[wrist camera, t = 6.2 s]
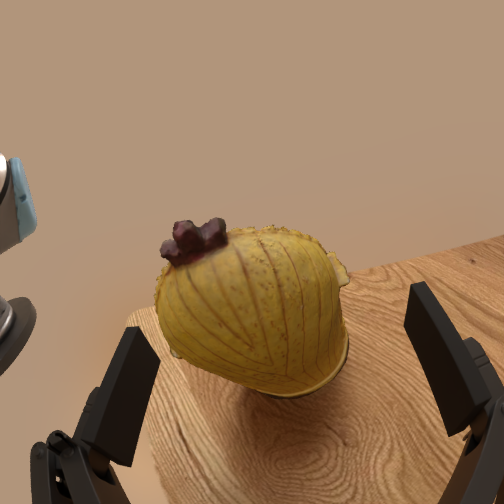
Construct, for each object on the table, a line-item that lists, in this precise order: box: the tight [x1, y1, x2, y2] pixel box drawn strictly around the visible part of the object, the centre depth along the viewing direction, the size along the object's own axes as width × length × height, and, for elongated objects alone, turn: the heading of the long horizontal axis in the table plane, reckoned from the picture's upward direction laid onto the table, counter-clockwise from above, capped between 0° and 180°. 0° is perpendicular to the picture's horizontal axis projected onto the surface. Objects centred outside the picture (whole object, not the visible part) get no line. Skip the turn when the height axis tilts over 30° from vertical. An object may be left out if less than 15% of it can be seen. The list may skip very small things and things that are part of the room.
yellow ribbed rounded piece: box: [154, 218, 350, 399], centre depth 14 cm, size 12×8×15 cm
